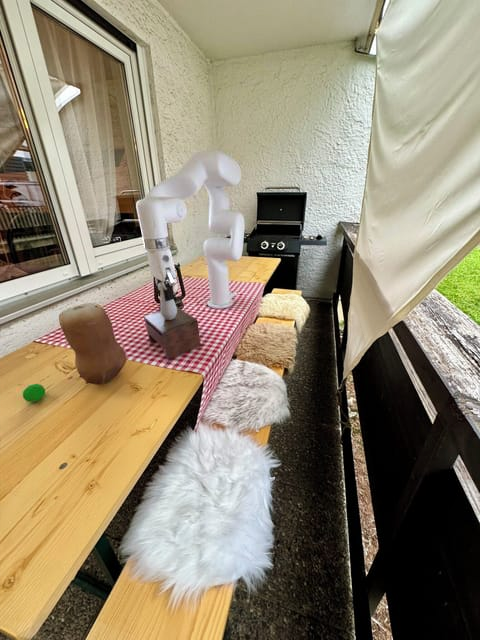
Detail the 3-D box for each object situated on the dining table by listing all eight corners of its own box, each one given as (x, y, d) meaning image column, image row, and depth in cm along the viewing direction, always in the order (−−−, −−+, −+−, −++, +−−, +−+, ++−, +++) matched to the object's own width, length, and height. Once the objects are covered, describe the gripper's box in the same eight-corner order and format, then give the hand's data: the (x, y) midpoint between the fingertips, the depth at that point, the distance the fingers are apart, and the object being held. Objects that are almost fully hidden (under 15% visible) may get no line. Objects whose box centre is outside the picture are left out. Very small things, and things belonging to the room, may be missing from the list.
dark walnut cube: (179, 329, 106) (175, 305, 101) (200, 345, 95) (197, 319, 90) (149, 341, 99) (143, 316, 94) (168, 360, 88) (163, 333, 83)
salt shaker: (174, 321, 89) (167, 286, 82) (158, 320, 90) (151, 285, 84) (180, 314, 94) (175, 280, 88) (166, 312, 95) (159, 279, 89)
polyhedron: (24, 408, 71) (17, 395, 69) (29, 396, 75) (22, 383, 73) (46, 402, 73) (39, 389, 71) (49, 390, 77) (43, 378, 74)
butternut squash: (98, 363, 88) (73, 296, 76) (136, 363, 87) (117, 295, 75) (73, 393, 75) (39, 318, 63) (118, 393, 75) (92, 318, 63)
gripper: (180, 245, 76) (188, 302, 85) (156, 237, 87) (165, 288, 96) (156, 250, 72) (167, 309, 80) (134, 241, 83) (146, 293, 92)
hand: (166, 297), depth 88 cm, fingers closed on salt shaker, 4 cm apart
